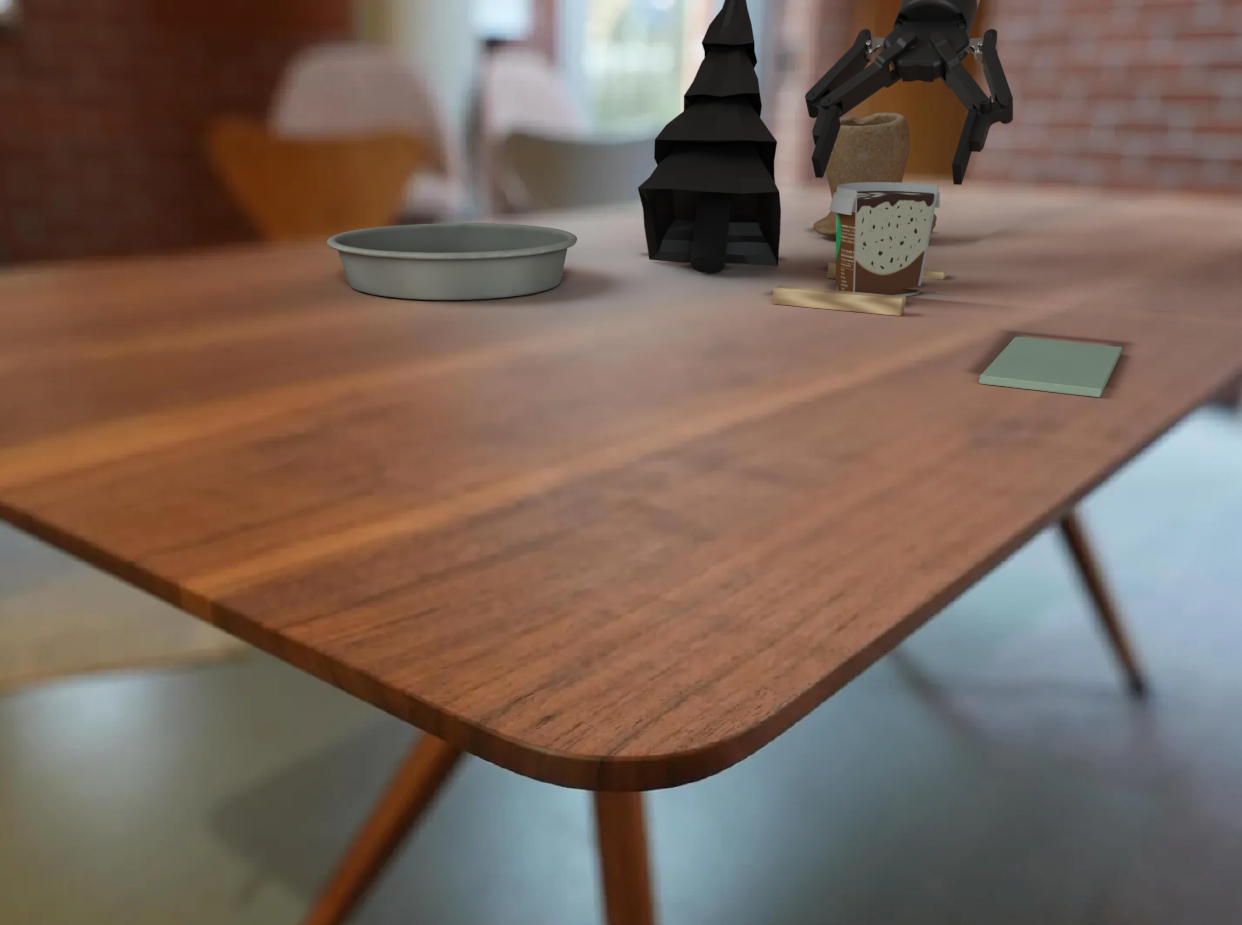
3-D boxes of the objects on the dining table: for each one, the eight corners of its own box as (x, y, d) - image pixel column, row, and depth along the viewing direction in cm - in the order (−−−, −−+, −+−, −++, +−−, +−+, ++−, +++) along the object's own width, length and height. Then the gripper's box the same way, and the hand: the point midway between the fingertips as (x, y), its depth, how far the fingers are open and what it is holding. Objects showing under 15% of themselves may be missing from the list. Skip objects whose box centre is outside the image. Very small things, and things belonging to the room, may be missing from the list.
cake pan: (548, 261, 131) (547, 218, 129) (604, 299, 110) (604, 249, 108) (325, 268, 126) (321, 223, 124) (338, 309, 104) (333, 256, 102)
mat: (1120, 354, 91) (1122, 346, 90) (1099, 397, 79) (1101, 388, 78) (1014, 344, 94) (1015, 336, 94) (978, 383, 82) (979, 375, 81)
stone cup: (803, 243, 147) (814, 113, 141) (819, 232, 157) (830, 110, 151) (926, 249, 143) (943, 115, 136) (935, 237, 153) (950, 112, 146)
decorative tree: (776, 300, 129) (804, 16, 135) (777, 231, 115) (807, -83, 120) (645, 294, 131) (677, 15, 137) (629, 226, 117) (666, -82, 122)
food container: (881, 284, 119) (892, 179, 115) (929, 292, 115) (942, 184, 111) (794, 295, 113) (803, 185, 108) (841, 305, 108) (852, 190, 104)
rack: (945, 285, 119) (947, 270, 118) (900, 316, 104) (902, 298, 103) (830, 276, 124) (832, 261, 123) (772, 303, 109) (773, 287, 108)
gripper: (1069, 31, 116) (1019, 205, 111) (826, 32, 126) (769, 191, 121) (1072, -34, 110) (1019, 147, 104) (816, -28, 120) (755, 138, 114)
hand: (885, 171), depth 112 cm, fingers open, 13 cm apart
